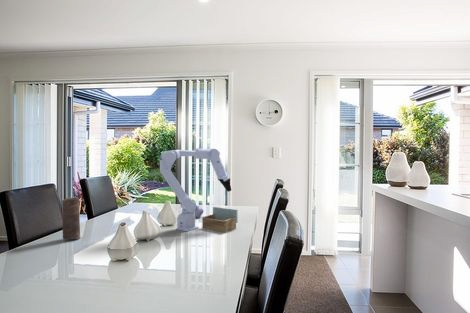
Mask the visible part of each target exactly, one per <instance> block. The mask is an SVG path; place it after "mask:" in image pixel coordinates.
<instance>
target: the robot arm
mask: <svg viewBox="0 0 470 313" xmlns="http://www.w3.org/2000/svg"><path fill="white" fill-rule="evenodd" d="M220 154H221V153H220V151H219V150H218V149H217V148H210V147H206V148H203V147H197V148H195V149H194V150H189V149H187V150H186V149H185V150H184V149H173V150H172V149H171V150H169V151H168V150H164V151H162V152H161V154H160V155H159V158H158V161H159V171H160V174H161V175H162V177H163V178H164V180H165V181H166V182H167V185H168V186H169V187H170V188H171V190H172V191H173V193H174V195H175V196H176V197H177V199H178V201H179V204H180V208H181V213H179V214H178V215H177V218H176V219H177V220H176V221H177V226H176V230H178V231H183V232H189V231H192V230H196V229H198V228H199V226H197V225H196V217H195V210H196V205H197V203H196V202H195V201H194V200H192V199H191V198H190V196H189V195H188V194H187V193H186V191H185V190H184V188H183V187H182V185H181V183H180V182H179V181H178V179H177V178H176V177H175V175H174V173H173V172H172V166H173V165H174V163H175V161H176V160H177V159H180V158H181V157H195V159H197V160H204V159H205V160H208V159H209V161H210V163H211V166H212V168H213V170H214V172H215V175H216V177H217V181H219V182H220V184H221V185H222V186H223V187H224V189H225V190H226V191H227V192H231V191H232V187H231V178H230V177H229V178H228V175H229V174H230V173H229V172H227V171H226V169H225V166H224V164H223V161H222V159H221V157H220Z"/></svg>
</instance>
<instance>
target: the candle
mask: <svg viewBox="0 0 470 313" xmlns="http://www.w3.org/2000/svg"><path fill="white" fill-rule="evenodd" d="M61 208H62V210H61V211H62V212H61V213H62V218H61V220H62V239H63V240H68V241H69V240H74V239H75V240H76V239H77V240H79V239H81V222H80V197H66V198H65V199H62V200H61Z"/></svg>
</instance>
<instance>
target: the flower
mask: <svg viewBox="0 0 470 313" xmlns="http://www.w3.org/2000/svg"><path fill="white" fill-rule="evenodd" d="M204 212H205V211H204V209H203V208H200V205H197V204H196V210H195V218H197V219H199V218H202V215H203V213H204Z"/></svg>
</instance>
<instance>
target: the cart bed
mask: <svg viewBox="0 0 470 313" xmlns="http://www.w3.org/2000/svg"><path fill="white" fill-rule="evenodd" d="M201 219H202V220H201V221H202V224H201V228H202V229H206V230H211V231H217V232H223V233H228V232H229V233H230V231H233V230H237V223H236V218H235V217H234V218H231V219H227V220H224V221H222V220H216V219H214V214H213V213H212V214H208V215H205V216H201Z"/></svg>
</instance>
